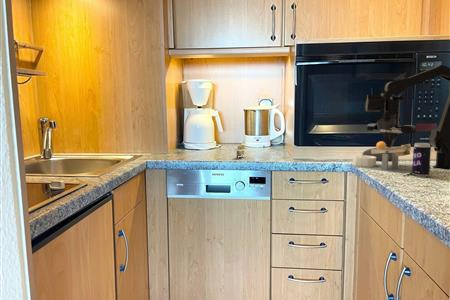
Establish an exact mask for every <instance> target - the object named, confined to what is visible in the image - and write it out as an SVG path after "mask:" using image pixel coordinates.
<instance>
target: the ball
mask: <svg viewBox="0 0 450 300" xmlns="http://www.w3.org/2000/svg"><path fill="white" fill-rule="evenodd" d="M375 146H376V147H375V148H377V149H382V148H386V147H387V143H386V142H384V141H378V142H377V143H376V145H375Z"/></svg>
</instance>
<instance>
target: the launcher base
mask: <svg viewBox="0 0 450 300" xmlns="http://www.w3.org/2000/svg"><path fill="white" fill-rule="evenodd" d="M388 156H389V155H387V154H382V161H381V164H380V163H376V166H374V167H360V166H354V165H353V163H351V164H346V165H345V166H346V167H351V168H360V169H364V170H365V169H367V170H374V171H382V172H387V173H389V172H390V173H396V174H402V177H406V176H409V175H414V174H413V173H412V167H408V166H407V167H406V166H399V156H396V155H395V152H393V153H392V161H391V164H389V161H388Z"/></svg>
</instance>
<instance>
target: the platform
mask: <svg viewBox="0 0 450 300" xmlns="http://www.w3.org/2000/svg"><path fill="white" fill-rule="evenodd" d="M245 150H247V147H245V144H240V145H237V148H235V149H233V151H234V152H236V158H237V157H238V156H241V155H242V156H243V155H244V156H245Z"/></svg>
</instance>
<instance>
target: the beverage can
mask: <svg viewBox="0 0 450 300" xmlns="http://www.w3.org/2000/svg"><path fill="white" fill-rule="evenodd" d="M412 150H413V151H412V167H411V168H412V171H411V173H413V174H412V175H414V176H415V177H423V178H425V177H427V176H428V175H430V169H431V155H432V154H431V153H432V146H431V144H430V142H429V143H428V142H414V145H413V149H412Z"/></svg>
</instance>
